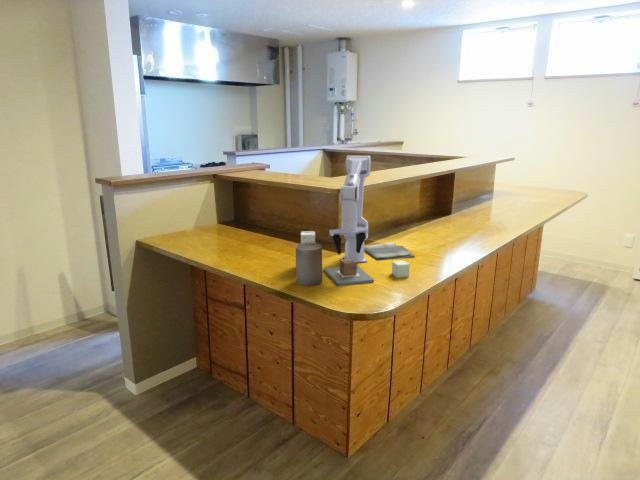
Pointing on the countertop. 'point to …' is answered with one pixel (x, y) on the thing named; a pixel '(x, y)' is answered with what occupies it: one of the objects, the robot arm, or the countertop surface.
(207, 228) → the countertop surface
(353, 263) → the walnut block
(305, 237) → the syrup box
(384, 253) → the dish towel
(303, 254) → the pillar candle
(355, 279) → the base plate
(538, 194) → the countertop surface
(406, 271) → the sage block
